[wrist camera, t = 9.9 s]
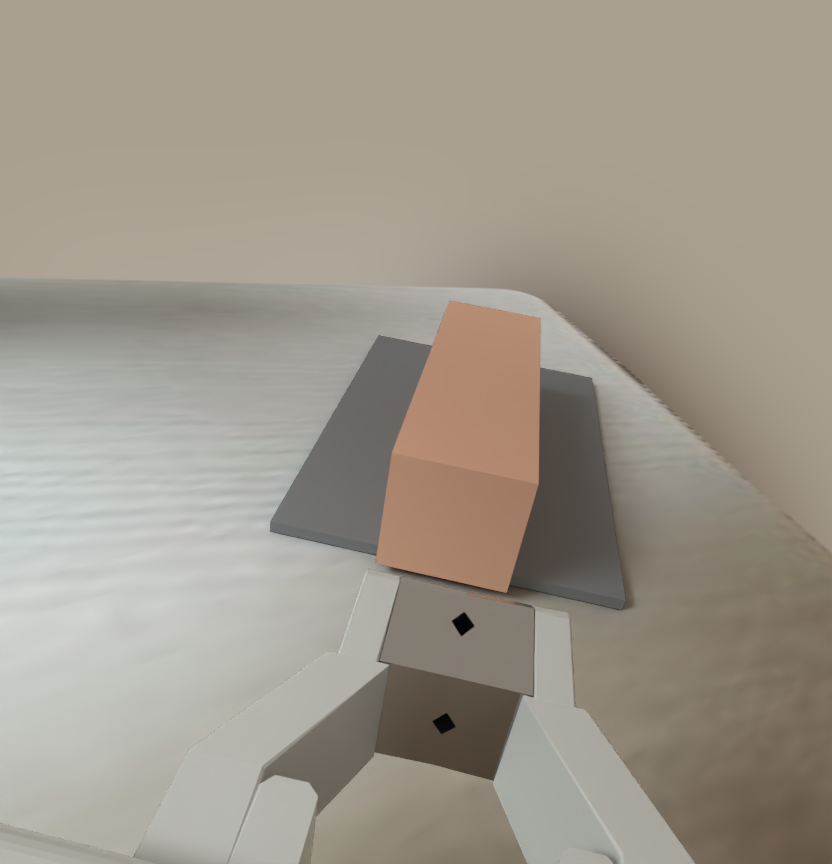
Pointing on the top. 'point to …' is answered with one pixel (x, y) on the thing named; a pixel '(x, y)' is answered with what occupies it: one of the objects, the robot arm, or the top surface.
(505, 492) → the terracotta block
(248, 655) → the top surface
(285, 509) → the charcoal mat
